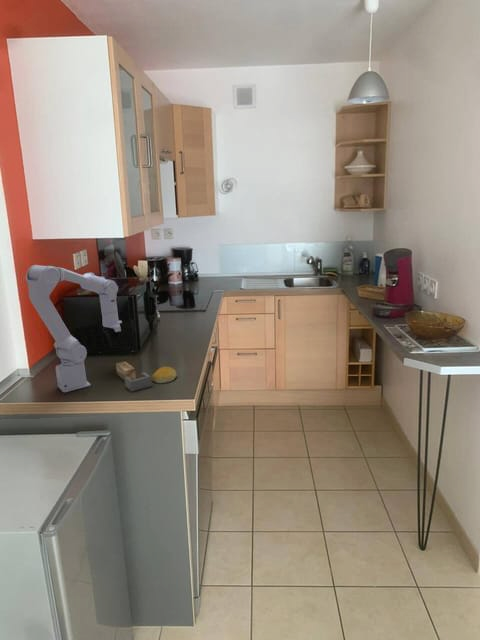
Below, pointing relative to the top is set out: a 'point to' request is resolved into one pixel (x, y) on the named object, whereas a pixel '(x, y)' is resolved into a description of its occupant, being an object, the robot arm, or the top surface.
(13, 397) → the top surface
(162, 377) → the bread roll
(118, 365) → the brown wooden block
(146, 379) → the end cap
